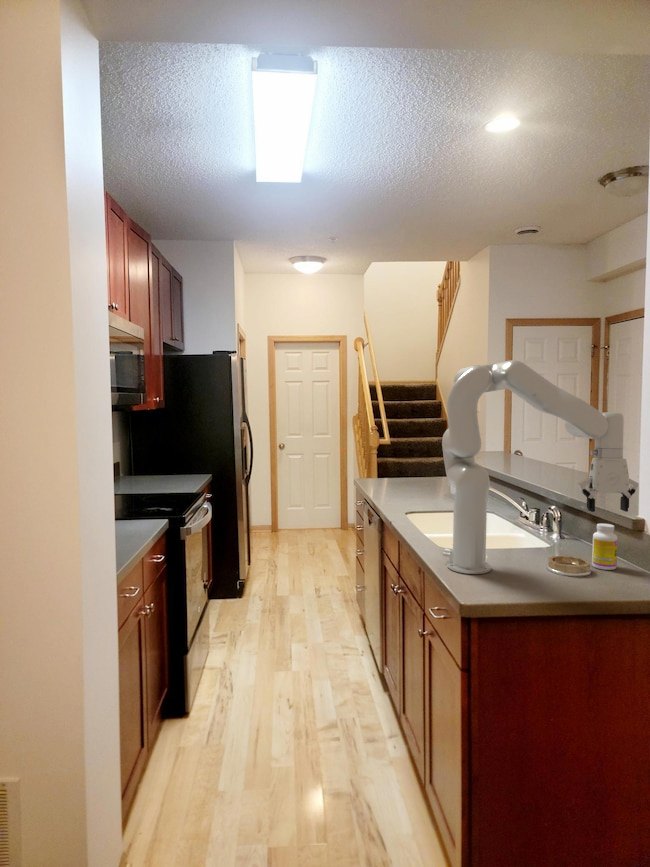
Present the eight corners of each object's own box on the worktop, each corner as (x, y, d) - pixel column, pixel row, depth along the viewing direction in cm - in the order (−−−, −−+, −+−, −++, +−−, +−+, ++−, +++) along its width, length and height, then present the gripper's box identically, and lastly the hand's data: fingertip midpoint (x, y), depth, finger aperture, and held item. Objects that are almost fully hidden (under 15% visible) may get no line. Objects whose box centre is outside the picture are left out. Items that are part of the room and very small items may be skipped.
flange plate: (539, 569, 162) (539, 560, 162) (557, 561, 170) (557, 552, 170) (580, 579, 153) (581, 569, 153) (597, 570, 161) (597, 561, 161)
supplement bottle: (618, 571, 160) (619, 528, 160) (592, 569, 163) (594, 526, 162) (614, 565, 167) (616, 523, 166) (590, 563, 169) (592, 521, 168)
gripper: (584, 455, 159) (583, 513, 160) (645, 454, 159) (644, 513, 160) (573, 453, 167) (573, 508, 168) (631, 452, 166) (630, 508, 167)
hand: (607, 510), depth 164 cm, fingers open, 9 cm apart
